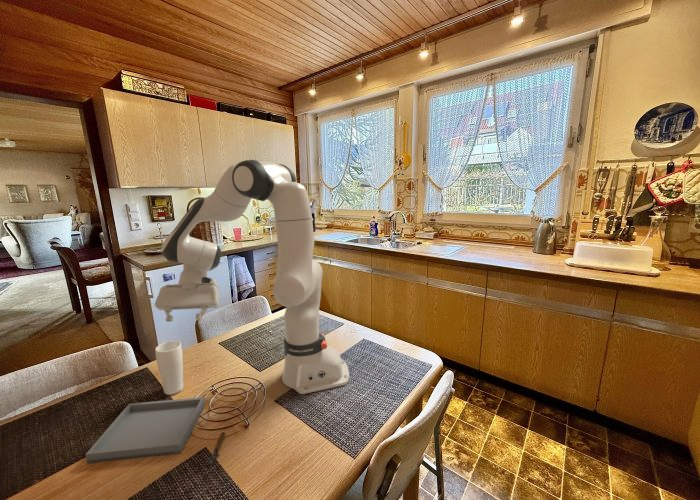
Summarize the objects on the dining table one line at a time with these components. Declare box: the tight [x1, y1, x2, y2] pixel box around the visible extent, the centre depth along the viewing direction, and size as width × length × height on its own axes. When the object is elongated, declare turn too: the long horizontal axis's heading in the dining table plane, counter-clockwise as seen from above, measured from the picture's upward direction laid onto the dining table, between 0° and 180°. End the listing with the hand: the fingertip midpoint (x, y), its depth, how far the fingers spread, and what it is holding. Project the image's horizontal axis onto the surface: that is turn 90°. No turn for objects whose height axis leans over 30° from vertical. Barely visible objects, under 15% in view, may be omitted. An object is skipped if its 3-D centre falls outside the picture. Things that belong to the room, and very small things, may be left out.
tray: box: [84, 396, 206, 465], centre depth 74 cm, size 20×16×2 cm
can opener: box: [208, 431, 226, 466], centre depth 68 cm, size 9×2×1 cm, turn 179°
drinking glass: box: [154, 340, 185, 396], centre depth 88 cm, size 7×7×15 cm
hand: (183, 320), depth 97 cm, fingers open, 8 cm apart
